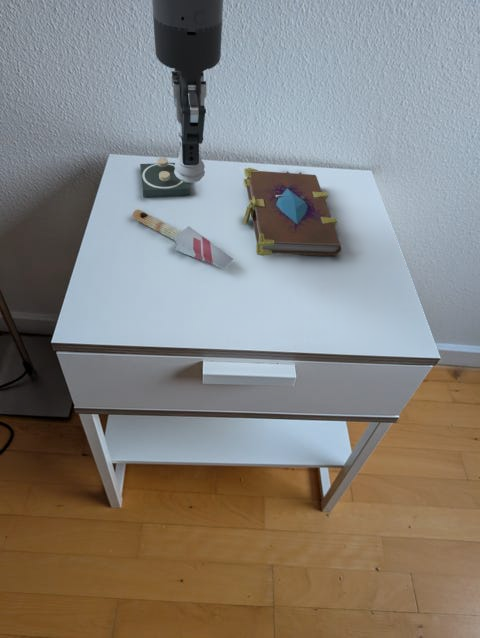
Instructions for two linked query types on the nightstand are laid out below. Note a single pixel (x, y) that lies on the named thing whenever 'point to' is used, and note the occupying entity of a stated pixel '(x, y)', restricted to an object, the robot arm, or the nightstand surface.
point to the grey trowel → (187, 241)
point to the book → (290, 214)
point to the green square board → (158, 187)
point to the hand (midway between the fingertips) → (189, 155)
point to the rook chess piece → (188, 167)
